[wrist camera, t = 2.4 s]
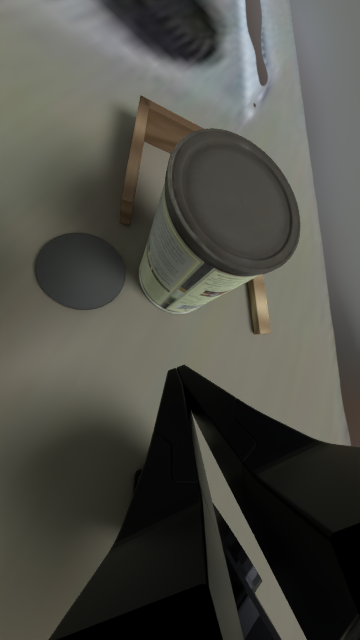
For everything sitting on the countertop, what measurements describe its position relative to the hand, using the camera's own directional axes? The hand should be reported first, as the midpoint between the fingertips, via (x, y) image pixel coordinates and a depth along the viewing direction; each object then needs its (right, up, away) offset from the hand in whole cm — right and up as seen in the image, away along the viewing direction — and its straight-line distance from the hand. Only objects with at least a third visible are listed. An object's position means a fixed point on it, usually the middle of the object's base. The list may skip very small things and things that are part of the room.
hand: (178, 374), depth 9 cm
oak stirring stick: (+12, +7, +21) cm, 25 cm away
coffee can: (0, +8, +16) cm, 19 cm away
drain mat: (-11, +8, +12) cm, 19 cm away
